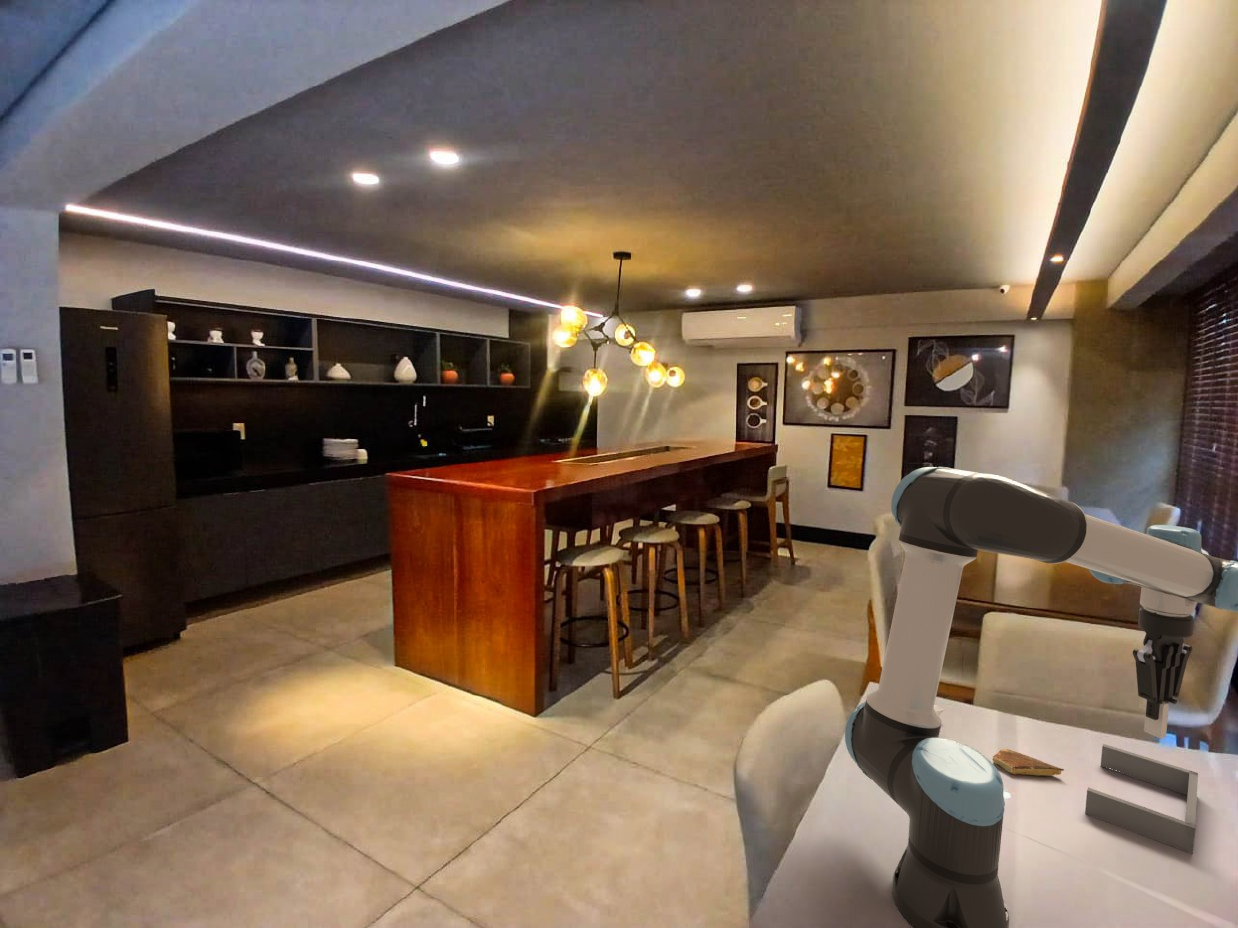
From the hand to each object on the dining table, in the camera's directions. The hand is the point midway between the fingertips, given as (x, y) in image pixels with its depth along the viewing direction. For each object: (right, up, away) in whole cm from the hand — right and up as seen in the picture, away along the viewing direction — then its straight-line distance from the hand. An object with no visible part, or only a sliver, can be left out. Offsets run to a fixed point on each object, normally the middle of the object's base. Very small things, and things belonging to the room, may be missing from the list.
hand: (1154, 734), depth 114 cm
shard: (-12, -14, +14) cm, 23 cm away
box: (0, -14, +1) cm, 14 cm away
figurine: (-28, -11, +32) cm, 44 cm away
